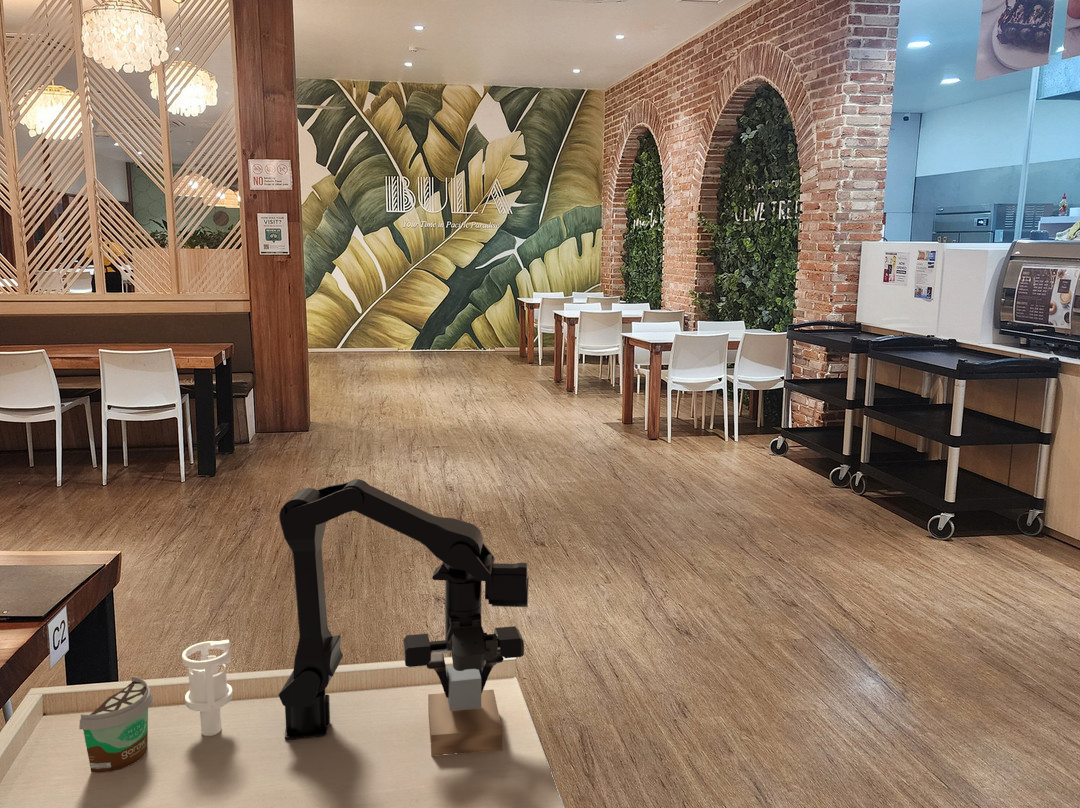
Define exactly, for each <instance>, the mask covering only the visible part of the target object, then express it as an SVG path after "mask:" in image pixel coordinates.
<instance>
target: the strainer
mask: <svg viewBox="0 0 1080 808" xmlns="http://www.w3.org/2000/svg"><path fill="white" fill-rule="evenodd" d="M230 646H231V645H230V640H229V639H223V640H219V641H217V640H210V641H203V642H202V641H201V642H198V643H195V644H193V645H191V646H189V647H187V648H186V649H185V650H183V652H181V653H182V654H181V658H182V659H181V660H182V665H183V666H185V667H186V668H188V670H187V671H188V681H189V682H188V683H189V684H188V685H189V690H188V691H187V692H186V693H185V696H184V698H185V699H184V700H185V701H184V702H185V706H186V708H187V709H189V710H191V711H195V712H199V718H200V732H201V735H202V736H205V737H211V736H215V735H218V734H219V733H221V731H222V718H221V708H222V707H224V706H226V705H227V704H229V703H230V702H231V700H232V699H233V696H234V695H233V686H231V685H230V684H229V683H228V681H227V666H226V664H230V663H231V661H232V660H231V647H230ZM211 649H214V650H221V651H222V654H221V655H219V656H217V655H209V654H210V652H209V650H211ZM198 652H200V654H201V655H200V660H193V659H190V658H189V657H190V656H191V655H193V654H194V653H198ZM219 665H222V667H223V669H222V670H221V671H220V672H219V670H218V669H219V668H218V667H219Z"/></svg>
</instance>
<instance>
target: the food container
mask: <svg viewBox="0 0 1080 808" xmlns="http://www.w3.org/2000/svg"><path fill="white" fill-rule="evenodd" d="M153 699H154V698H153V695H152V691H151V689H150V686H149V685H148V684H147V682H146V681H145V680H144V679H142V678H140V677H137V676H131V682H130V683H129V684H128V685H127V686H126V687H124V688H122V690H120V691H118V692H117V693H115V694H112V695H111V696H109V697H107V699H106V700H104V701H103V702H102V703H101V705H100V706H99V707H97V708H96V709H95V710H94V711H92V712H91V713H90V714H80V719H79V727H78V728H79V730H83V736H84V742H85V747H86V753H87V757H88V761H89V767H90V772H91V773H94V772H95V774H101V773H104V774H105V773H111V772H112V773H113V772H115V771H121V770H123V769H125V768H128V767H130V766H132V765H133V764H136V763H138V760H139V761H140V760H141V759H142V758H143V757H144V756H145V755H144V754H146V753H147V752H146V751H148V742H149V741H148V738H149V737H148V734H149V731H148V730H149V729H148V727H149V725H148V724H149V708H150V706H151V705H152V703H153ZM135 762H136V763H135Z"/></svg>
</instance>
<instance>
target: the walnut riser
mask: <svg viewBox="0 0 1080 808" xmlns="http://www.w3.org/2000/svg"><path fill="white" fill-rule="evenodd" d="M427 695H428V698H427V700H428V701H427V703H428V704H427V706H428V710H427V712H428V723H429V724H428V728H429V738H430V739H429V740H430V741H429V743H431V744H430V756H431V757H436V756H435V755H440V756H444V755H443V754H452V755H461V754H462V753H463V754H472V753H473V754H474V753H485V752H497V751H502V750H503V728H502V724H501V723H502V722H501V718H500V713H499V709H498V705H497V700H496V695H495V691H494V689H483V692H482V694H481V707H480V708H470V709H461V710H451V711H450V708H449V704H448V699H447V698H446V695H445V692H444V693H443V692H442V693H440V692H439V693H430V694H429V693H428V694H427ZM455 753H457V754H455Z"/></svg>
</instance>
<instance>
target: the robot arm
mask: <svg viewBox="0 0 1080 808" xmlns="http://www.w3.org/2000/svg"><path fill="white" fill-rule="evenodd" d="M350 512H356V513H358V514H360V515H362V516H364V517H366V518H369V519H370V520H372V521H375V522H377V523H379V524H381V525H383V526H385V527H387V528H390V529H391V530H394V531H396V532H398V533H400V534H402V535H404V536H407V537H409V538H411V539H413V540H414V541H417V542H419V543H420V544H422V545H423V546H425V547H426V548H427V549H428V550H429V552H431V554H433V556H434V557H435V558H437V559H439V560H440V561H441V564H440V565H438V566H437V567H436V568H435V569H434V572H433V574H432V577H431V578H432V580H434V581H444V582H445V583H444V587H445V588H444V589H445V590H444V594H445V597H444V598H445V599H444V606H445V607H444V608H445V609H444V611H445V612H444V613H445V619H444V621H445V625H444V626H445V630H444V631H445V639H443V640H432V641H430V638H429V633H418V634H417V633H416V634H415V633H414V634H407V635H406V636H405V637H404V638H403V640H402V641H403V645H402V646H403V657H404V665H405V666H406V667H408V668H413V667H414V668H416V667H426V668H427V669H428V670H434V671H435V673H436V675H437V677H438V678H439V680H440V684H441V687H442V689H443V692H444V693H445V695H446V698H448V697H449V687H448V680H447V673H446V666H447V665H446V662H445V660H446V659H445V655H444V654H449V653H450V654H451V658H452V665H453V667H454V669H455V670H457V671H464V670H467V669H479V672H480V676H481V694H482V692H483V690H485V686H486V684H487V681H488V679H489V676H490V673H491V671H492V669H493V668H494V666H496V665H497V664H501V663H503V662H504V659H513V658H521V657H523V656H524V655H525V642H524V638H523V637H522V635H521V632H520V630H519V629H518V627H517V626H513V625H512V626H502V627H501V626H500V627H494V629H493V633H490V634H488V632H484V631H485V630H484V627H483V626H482V614H483V612H482V607H483V606H482V594H483V593H482V586H483V585H482V582H484V584H485V585H484V599H485V600H487V601H488V603H487V604H488V605H491V606H492V607H503V608H505V607H507V608H510V607H511V608H528V605H529V584H530V583H529V582H530V579H529V577H528V563H527V562H516V563H497V562H496V563H495V559H496V558H495V555H493V553H492V552H491V551H490V549H489V548H488V547H487V546H486V544H485V543H484V537H483V534H482V532H481V530H480V528H479V527H478V526H476V525H475V524H473V523H471V522H466V521H463V520H459V519H456V518H452V517H443V516H442V517H441V516H437V515H435V514H434V515H433V514H431V513H429V512H427V511H425V510H423V509H421V508H419V507H416V506H414V505H412V504H410V503H407V502H406V501H403V500H402V499H399V498H398V497H395V496H393V495H391V494H389V493H386V491H385V492H384V491H383V490H381V489H379V488H378V487H377V488H376V487H374V486H373V485H370V484H369V483H367V482H366V481H365V480H363V479H360V478H353V479H352V480H350V481H347V482H343V483H337V484H332V485H328V486H325V487H322V488H319V489H315V488H313V487H312V488H311V487H305V488H302V489H299V490H298V491H297V492H296V493H295V494H294V495H293V496H292V497H290V498H289V499H288V500H287V502H285V504H284V505H282V507H281V508H280V511H279V514H278V518H279V519H278V520H279V524H280V527H281V531H282V535H283V538H284V540H285V542H286V544H287V546H288V547H289V549H290V550H291V554H292V561H293V562H292V563H293V572H294V573H293V574H294V584H295V585H294V587H295V597H296V598H295V599H296V610H297V611H296V612H297V622H298V635H299V639H298V643H297V648H296V652H295V657H294V661H293V663H294V664H293V669H292V670H293V671H292V672H291V674H290V675H289V677H288V678H287V680H286V681H285V684H284V685H283V687H282V688H281V690H280V692H279V694H278V698H279V699H280V702H281V703H282V706H283V707H284V712H285V713H284V715H285V717H284V718H285V728H284V729H285V730H284V739H285V740H296V739H304V738H305V739H306V738H314V737H322V736H326V735H327V734H328V726H330V725H331V703H330V695H329V694H328V693H326V688H328V686H329V684H330V681H331V679H332V677H333V676H334V675H335V673H336V671H337V670H338V667H339V665H340V663H341V661H342V659H343V658H344V654H343V653H342V649H341V643H342V641H341V640H342V636H341V635H340V634H338V635H332V632H331V631H330V629H329V626H328V616H327V603H326V602H327V601H326V588H325V576H324V563H323V562H324V561H323V560H324V559H323V552H322V551H323V548H322V545H323V539H324V534H325V530H326V525H327V522H329V521H331V520H333V519H335V518H338V517H339V516H342V515H345V514H347V513H348V514H349V513H350Z"/></svg>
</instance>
